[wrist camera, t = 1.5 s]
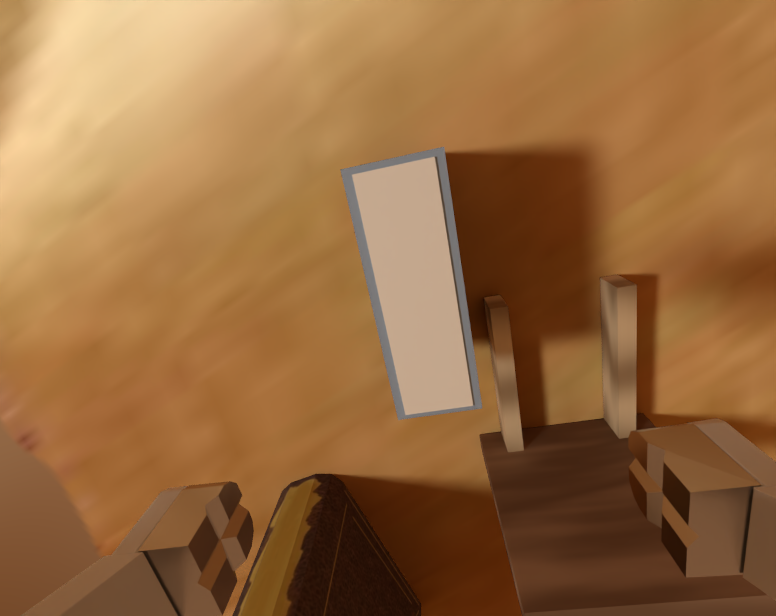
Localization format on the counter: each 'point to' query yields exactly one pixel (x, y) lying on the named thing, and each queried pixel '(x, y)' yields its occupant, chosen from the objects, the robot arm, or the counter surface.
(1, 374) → the counter surface
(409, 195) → the box book
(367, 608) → the book
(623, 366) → the wooden display stand
